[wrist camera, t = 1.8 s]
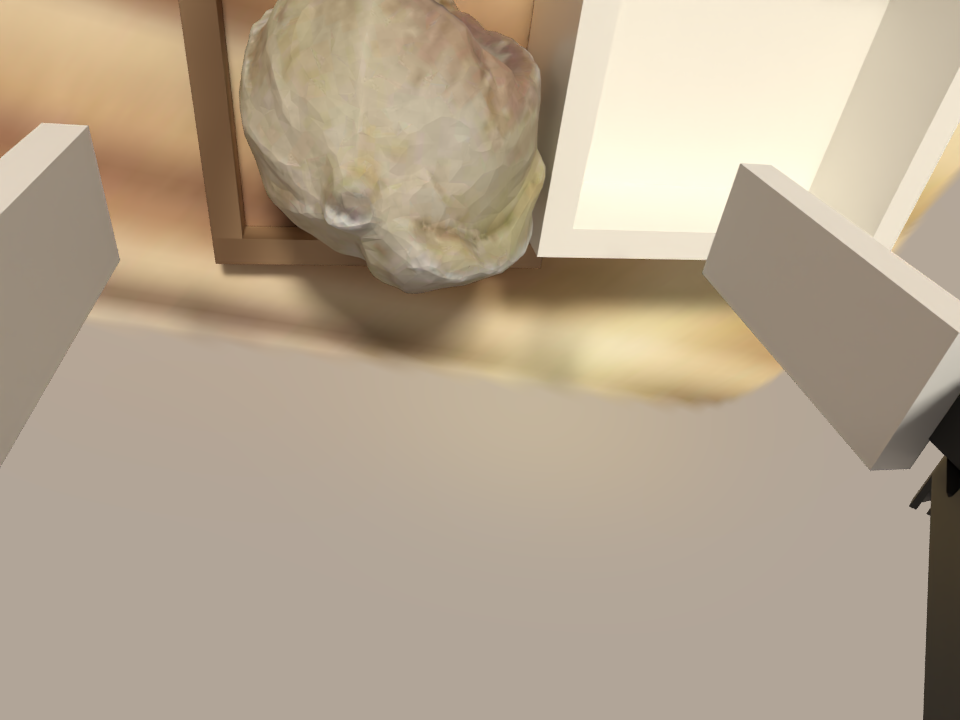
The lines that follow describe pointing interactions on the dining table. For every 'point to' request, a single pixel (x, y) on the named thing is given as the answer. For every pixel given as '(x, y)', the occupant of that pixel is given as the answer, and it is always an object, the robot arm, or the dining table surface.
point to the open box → (734, 114)
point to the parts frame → (223, 165)
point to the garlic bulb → (396, 135)
